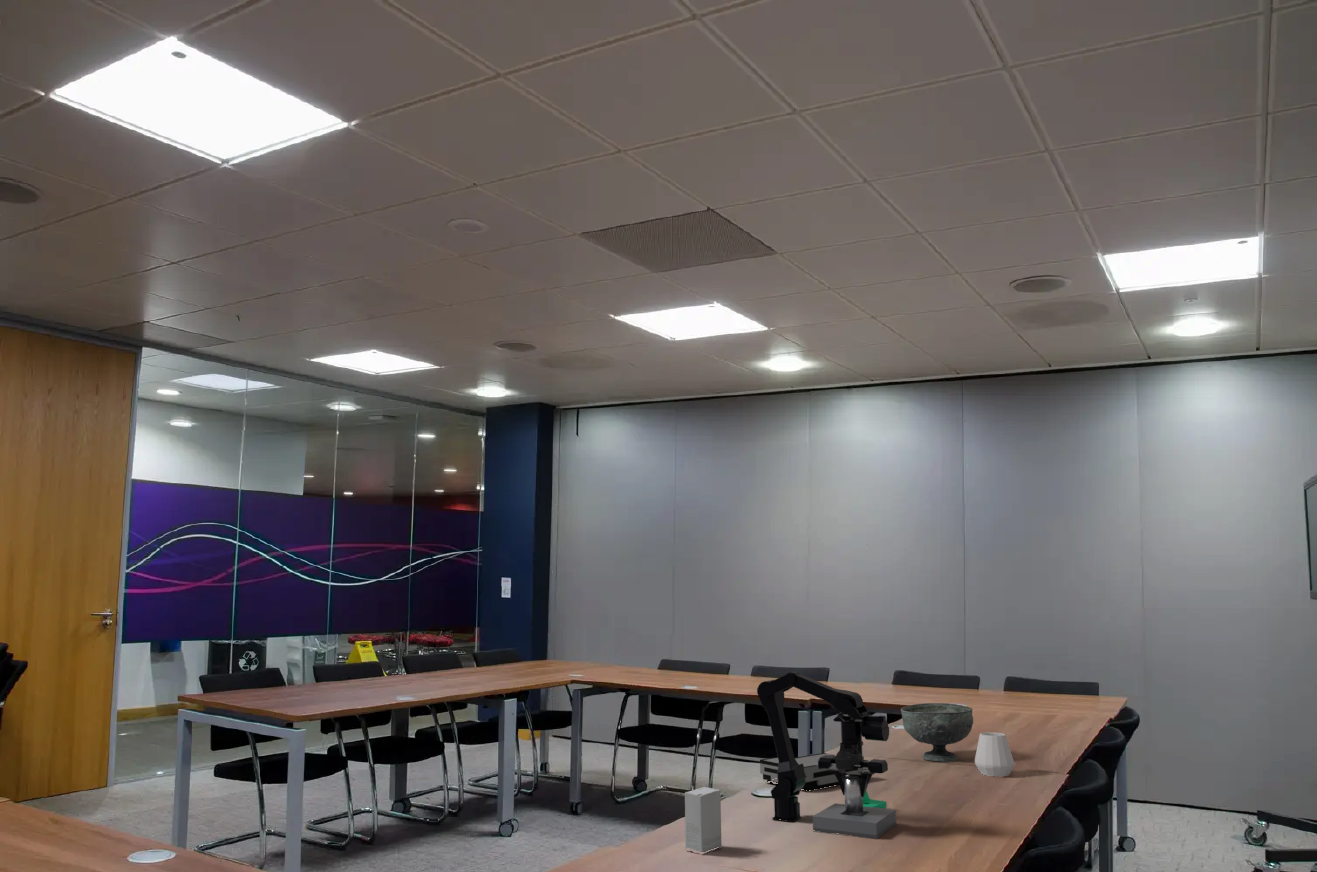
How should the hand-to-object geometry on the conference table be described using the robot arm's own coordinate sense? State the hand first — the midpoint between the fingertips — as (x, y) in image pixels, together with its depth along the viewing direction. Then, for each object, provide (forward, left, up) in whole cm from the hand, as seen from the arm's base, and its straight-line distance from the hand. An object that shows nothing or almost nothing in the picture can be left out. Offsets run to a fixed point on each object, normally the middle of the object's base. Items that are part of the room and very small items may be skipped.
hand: (853, 795), depth 275 cm
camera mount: (-3, +20, -9) cm, 22 cm away
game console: (-33, +56, -9) cm, 65 cm away
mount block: (0, 0, -9) cm, 9 cm away
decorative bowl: (-6, +118, -9) cm, 118 cm away
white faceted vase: (+19, +96, -9) cm, 98 cm away
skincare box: (-27, -40, -9) cm, 49 cm away
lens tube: (0, 0, -4) cm, 4 cm away
